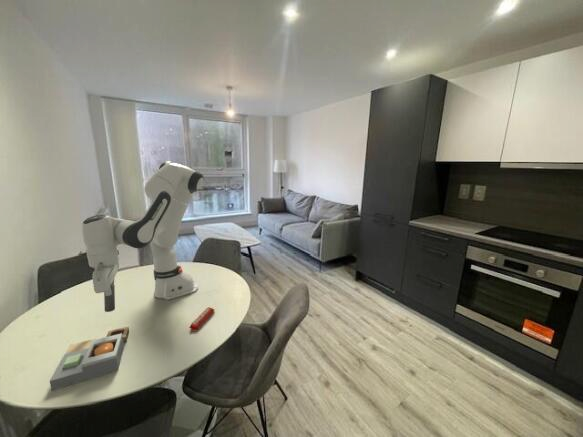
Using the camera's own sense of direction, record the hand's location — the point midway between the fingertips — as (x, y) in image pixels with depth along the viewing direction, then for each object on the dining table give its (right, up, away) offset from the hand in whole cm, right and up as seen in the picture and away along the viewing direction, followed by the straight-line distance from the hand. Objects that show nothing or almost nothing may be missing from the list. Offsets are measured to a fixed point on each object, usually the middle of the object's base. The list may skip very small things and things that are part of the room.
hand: (110, 291), depth 91 cm
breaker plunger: (+4, -20, -8) cm, 22 cm away
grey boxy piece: (0, -23, -9) cm, 25 cm away
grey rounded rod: (-1, -7, +1) cm, 7 cm away
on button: (-4, -22, -11) cm, 25 cm away
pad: (-10, -22, -2) cm, 24 cm away
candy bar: (+30, -19, +17) cm, 39 cm away
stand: (0, -21, +4) cm, 21 cm away
